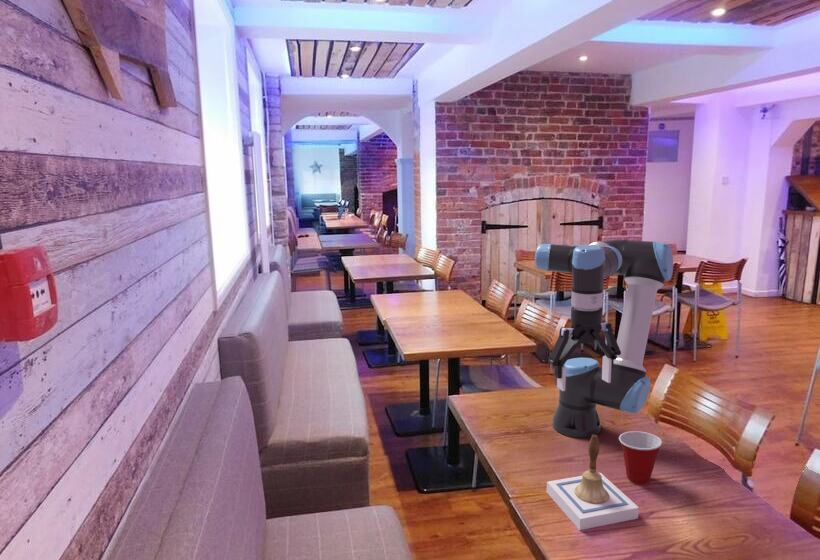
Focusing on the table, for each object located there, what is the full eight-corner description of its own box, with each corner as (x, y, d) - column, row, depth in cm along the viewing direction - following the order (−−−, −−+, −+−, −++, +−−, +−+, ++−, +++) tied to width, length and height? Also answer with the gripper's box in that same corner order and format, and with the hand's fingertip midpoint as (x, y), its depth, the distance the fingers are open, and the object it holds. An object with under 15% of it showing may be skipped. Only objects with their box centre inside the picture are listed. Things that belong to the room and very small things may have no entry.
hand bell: (569, 485, 140) (572, 429, 136) (600, 483, 140) (603, 427, 137) (582, 505, 131) (585, 445, 128) (614, 502, 132) (618, 443, 129)
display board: (599, 482, 146) (600, 471, 145) (638, 518, 131) (638, 506, 130) (546, 491, 142) (546, 481, 141) (579, 530, 127) (580, 518, 126)
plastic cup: (626, 463, 155) (629, 425, 153) (665, 477, 147) (668, 437, 145) (609, 478, 148) (611, 438, 145) (649, 494, 140) (652, 452, 138)
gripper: (550, 317, 129) (549, 398, 133) (638, 305, 135) (633, 382, 140) (535, 309, 136) (534, 386, 141) (618, 297, 142) (615, 372, 147)
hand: (583, 384), depth 140 cm, fingers open, 13 cm apart
